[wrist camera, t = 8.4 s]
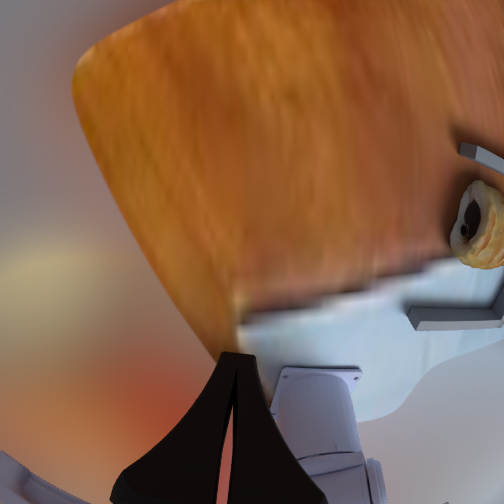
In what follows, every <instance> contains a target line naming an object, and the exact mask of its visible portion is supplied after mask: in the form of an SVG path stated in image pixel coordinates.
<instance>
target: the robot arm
mask: <svg viewBox="0 0 504 504" xmlns="http://www.w3.org/2000/svg"><path fill="white" fill-rule="evenodd" d="M362 374H363V373H362V370H360V369H311V368H291V367H285V368H283V369H282V370H281V373H280V377H279V380H278V384H277V387H276V390H275V394H274V397H273V400H272V403H271V407H270V409H269V406H268V404H267V401H266V398H265V395H264V392H263V389H262V386H261V382H260V378H259V374H258V369H257V362H256V357H255V356H254V355H250V354H241V353H233V352H225V351H224V352H222V353H221V355H220V358H219V360H218V363H217V365H216V367H215V370H214V372H213V373H212V375H211V377H210V379H209V381H208V382H207V384H206V386H205V387H204V389H203V391H202V392H201V394H200V395H199V397H198V398H197V399H196V401H195V402H194V404H193V405H192V407H191V408H190V409H189V410H188V412H187V413H186V414H185V416H184V417H183V418H182V419H181V420H180V421H179V423H178V424H177V425H176V426H175V427H174V428H173V429H172V430H171V431H170V432H169V433H168V434H167V435H166V436H165V437H164V438H163V439H162V440H161V441H160V442H159V443H158V444H157V445H156V446H154V447H153V448H152V449H151V450H150V451H149V452H148V453H146V454H145V455H144V456H142V457H141V458H140V459H138V460H137V461H136V462H134V463H133V464H131V465H130V466H128V467H127V468H126V469H124V470H123V471H122V472H121V474H120V475H119V477H118V478H117V480H116V482H115V484H114V486H113V489H112V492H111V496H110V501H111V502H112V503H113V504H216V500H217V492H218V483H219V474H220V466H221V458H222V451H223V446H224V442H225V437H226V433H227V428H228V424H229V419H230V414H231V410H232V406H233V451H232V464H231V473H230V481H229V491H228V501H227V504H388V502H387V495H386V489H385V484H384V479H383V474H382V469H381V464H380V462H379V461H377V460H374V458H369V459H367V460H366V461H367V464H366V461H365V458H364V455H363V452H362V447H361V442H360V437H359V432H358V427H357V422H356V417H355V413H354V408H353V404H352V399H351V393H352V392H353V390H354V388H355V387H356V385H357V383H358V381H359V380H360V378H361V376H362ZM275 420H276V423H275ZM367 469H368V470H367ZM0 501H1V502H2V503H3V504H90V503H88V502H85V501H84V500H81V499H79V498H77V497H75V496H73V495H71V494H69V493H67V492H65V491H63V490H61V489H59V488H57V487H56V486H54V485H52V484H50V483H49V482H47V481H45V480H43V479H42V478H40V477H38V476H37V475H35V474H33V473H32V472H30V471H29V470H28V469H27V468H26V467H25V466H23V465H22V464H20V463H19V462H18V461H16V460H15V459H13V458H12V457H11V456H9V455H8V454H6V453H5V452H4V451H0ZM444 504H449V503H448V502H446V503H444Z"/></svg>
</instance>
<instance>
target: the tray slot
mask: <svg viewBox="0 0 504 504" xmlns="http://www.w3.org/2000/svg"><path fill="white" fill-rule="evenodd" d="M459 155H461V156H463V157H466V158H468V159H470V160H473V161H475V162H477V163H479V164H481V165H484V166H486V167H488V168H490V169H492V170H494V171H496V172H498V173H500V174H502V175H504V159H502V158H500V157H498V156H497V155H495V154H493V153H491V152H489V151H487V150H485V149H483V148H481V147H479V146H477V145H473V144H469V143H464V142H461V146H460V152H459ZM407 317H408V319H409V321H410V322H411V324H412V326H413V327H414V329H415V331H443V330H469V329H486V328H500V327H502V326H503V324H504V285H503V287H502V290H501V292H500V294H499V296H498V298H497V300H496V302H495V304H494V306H493V308H492V309H456V308H425V307H411V309H410V311H409V313H408V315H407Z"/></svg>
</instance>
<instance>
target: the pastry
mask: <svg viewBox="0 0 504 504" xmlns="http://www.w3.org/2000/svg"><path fill="white" fill-rule="evenodd" d="M450 247H451V250H452V252H453V254H454V255H455V257H456V258H458V259H459V260H460V261H461V262H462V263H463V264H465V265H468V266H471V267H472V268H480V269H493V268H497V267H499V266H504V194H503V193H502V192H501V191H500V190H497V189H496V188H493V187H490V186H488V185H486V184H485V183H484V182H483V181H482V180H475V181H474V182H472V183H471V184H469V185H468V187H467V190H466V191H465V192H464V194H463V196H462V199H461V202H460V207H459V211H458V218H457V221H456V223H455V225H454V227H453V229H452V232H451V234H450Z"/></svg>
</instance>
